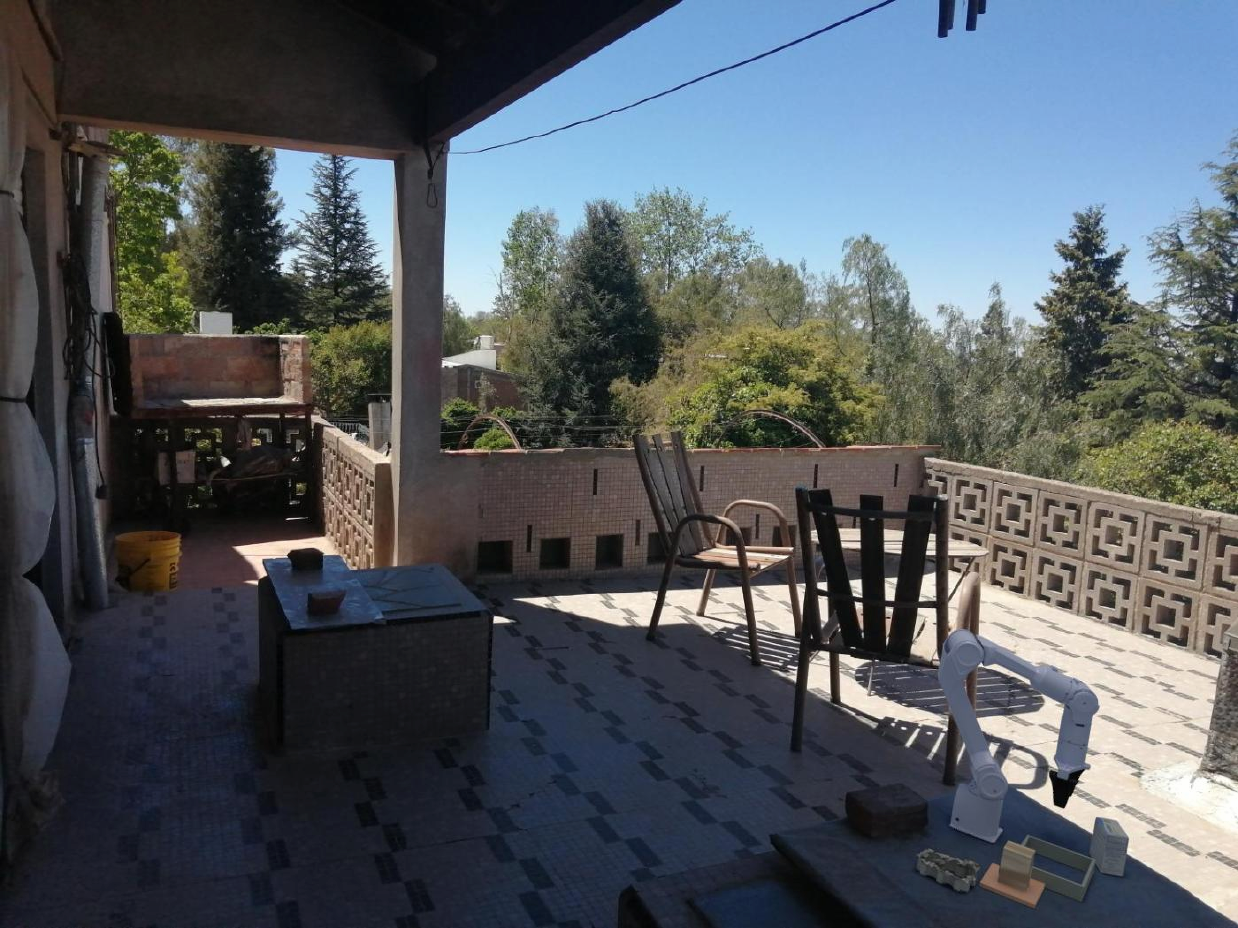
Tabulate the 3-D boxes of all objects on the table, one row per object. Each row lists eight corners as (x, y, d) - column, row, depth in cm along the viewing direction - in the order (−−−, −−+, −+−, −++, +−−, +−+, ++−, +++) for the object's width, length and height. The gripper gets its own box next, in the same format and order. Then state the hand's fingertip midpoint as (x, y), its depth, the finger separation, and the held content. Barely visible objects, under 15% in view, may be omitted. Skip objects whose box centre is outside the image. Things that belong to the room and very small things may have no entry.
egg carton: (979, 884, 179) (983, 864, 179) (963, 897, 174) (966, 877, 173) (928, 859, 187) (931, 840, 186) (910, 870, 181) (914, 851, 181)
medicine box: (1122, 877, 188) (1130, 837, 187) (1099, 872, 189) (1107, 833, 188) (1110, 858, 196) (1117, 819, 195) (1088, 853, 197) (1095, 815, 196)
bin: (1009, 873, 184) (1012, 859, 184) (1025, 847, 196) (1027, 834, 195) (1081, 901, 177) (1084, 887, 176) (1093, 873, 188) (1095, 859, 188)
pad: (979, 885, 178) (979, 882, 178) (992, 866, 186) (992, 862, 186) (1034, 908, 172) (1035, 904, 172) (1045, 887, 181) (1045, 883, 180)
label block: (1024, 892, 176) (1031, 858, 175) (996, 881, 179) (1002, 847, 178) (1029, 884, 179) (1035, 850, 179) (1001, 873, 182) (1007, 839, 182)
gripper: (1088, 755, 187) (1077, 819, 189) (1099, 736, 199) (1088, 796, 200) (1051, 744, 191) (1040, 806, 193) (1063, 726, 203) (1053, 784, 204)
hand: (1062, 800), depth 197 cm, fingers open, 7 cm apart
